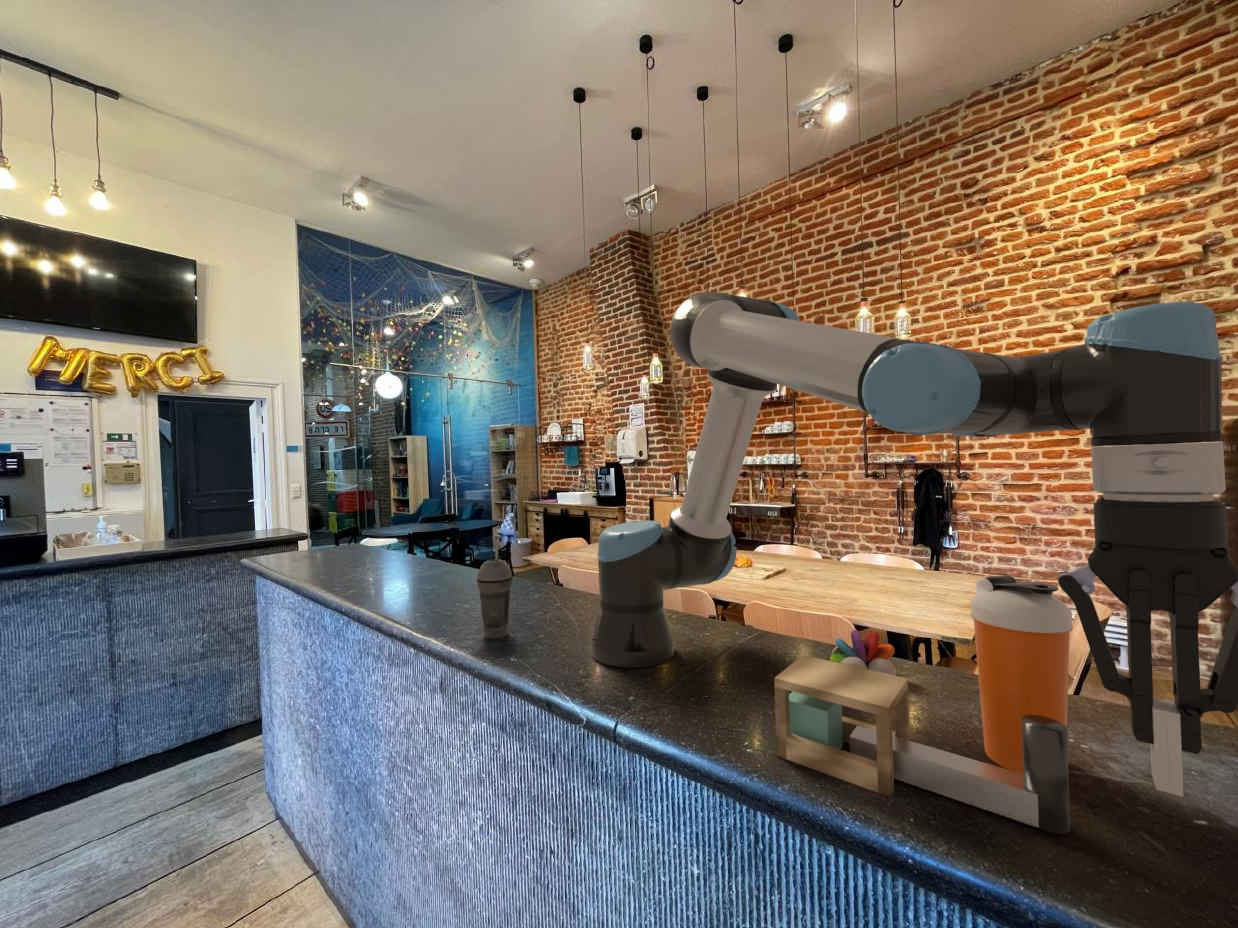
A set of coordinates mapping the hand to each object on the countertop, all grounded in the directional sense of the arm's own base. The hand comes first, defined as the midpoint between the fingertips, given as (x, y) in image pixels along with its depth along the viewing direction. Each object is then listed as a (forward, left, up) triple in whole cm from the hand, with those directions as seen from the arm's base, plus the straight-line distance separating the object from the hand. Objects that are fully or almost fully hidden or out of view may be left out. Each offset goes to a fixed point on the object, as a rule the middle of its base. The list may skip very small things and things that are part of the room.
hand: (1166, 784), depth 42 cm
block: (-29, 0, -7) cm, 30 cm away
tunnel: (-26, 0, -7) cm, 27 cm away
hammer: (-16, 0, -7) cm, 17 cm away
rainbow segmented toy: (-30, +25, -7) cm, 40 cm away
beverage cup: (-95, +2, -7) cm, 95 cm away
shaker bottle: (-10, +12, -7) cm, 17 cm away
